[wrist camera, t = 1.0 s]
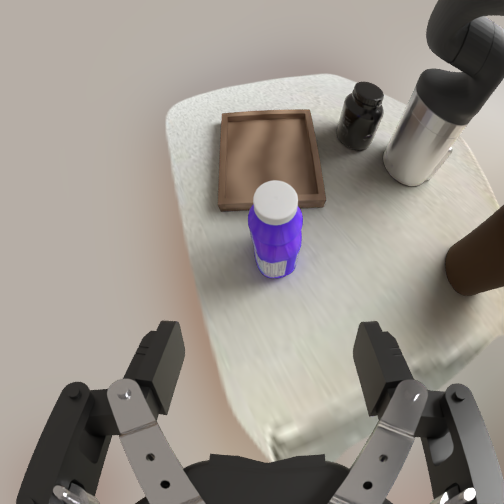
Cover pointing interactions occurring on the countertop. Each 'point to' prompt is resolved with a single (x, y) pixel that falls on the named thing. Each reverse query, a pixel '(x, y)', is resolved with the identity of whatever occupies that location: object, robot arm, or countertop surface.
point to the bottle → (275, 228)
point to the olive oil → (478, 258)
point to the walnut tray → (268, 157)
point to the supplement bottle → (360, 116)
